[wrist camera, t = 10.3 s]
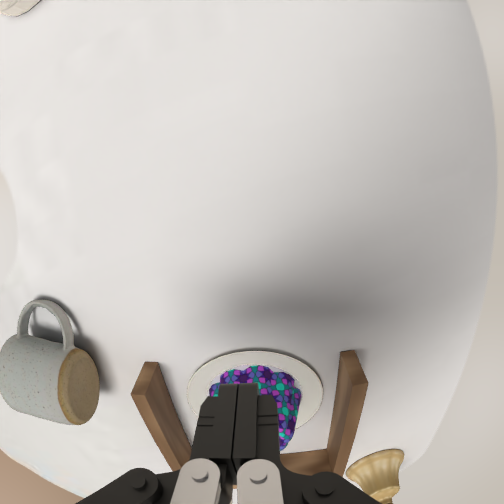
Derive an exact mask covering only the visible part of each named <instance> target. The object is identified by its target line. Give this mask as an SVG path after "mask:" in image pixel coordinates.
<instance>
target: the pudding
mask: <svg viewBox="0 0 504 504" xmlns="http://www.w3.org/2000/svg"><path fill="white" fill-rule="evenodd" d="M242 365H258V366H250V367H249V368H247V369H246V370H244V371H241V370H235V369H233V370H230V371H226V370H228V369H231V368H234V367H238V366H242ZM260 365H268V366H272V367H276V368H279V369H281V370H284V371H286V372H287V373H289V374H291V375H292V376H293V377H294V378H295V379H296V380H297V381H298V382H299V384H300V386H301V389H302V400H301V392H300V389H298V388H296V387H294V386H293V385H294V379H293V378H292V377H291V376H290V375H289V374H287V373H284V372H273V371H271V370H270V369H269V368H268V367H265V366H260ZM224 371H226V372H225V373H224V374H222V375H221V377H220V382H219V383H216V384H213V385H212V386H211V388H210V389H209V394H210V396H218V391H219V386H220V384H236V383H238V384H240V383H257V382H258V386H259V394H260V395H270V394H271V395H272V396H273V398H274V399H275V401H276V403H277V408H278V421H279V442H280V451H281V450H283V449H284V448H285V447H286V446H287V445H288V442H289V441H290V440H291V439H292V437H293V434H294V431H295V429H297V428H299V427H301V426H302V425H304V424H305V423H307V422H308V421H309V420H310V419H311V418H312V417H313V416H314V415H315V413H316V412H317V411H318V409H319V407H320V405H321V403H322V398H323V387H322V384H321V381H320V379H319V378H318V376H317V375H316V373H315V372H314V371H313V370H312V369H311V368H310V367H308V366H307V365H305V364H304V363H302V362H301V361H299V360H297V359H294V358H292V357H289V356H286V355H282V354H278V353H274V352H265V351H245V352H237V353H232V354H228V355H224V356H221V357H218V358H216V359H214V360H211V361H210V362H208V363H206V364H205V365H203V366H202V367H201V368H200V369H199V370H197V371H196V372H195V373H194V375H193V376H192V378H191V379H190V381H189V384H188V387H187V399H188V403H189V405H190V407H191V409H192V411H193V412H194V414H195V415H196V416H197V417H198V418H199V412H200V407H201V405H202V403H203V402H204V401H205V399H206V398H207V392H208V388H209V385H210V383H211V382H212V381H213V379H214V378H215V377H217V376H218V375H219V374H221V373H222V372H224ZM300 400H301V403H300Z"/></svg>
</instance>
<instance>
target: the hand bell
mask: <svg viewBox="0 0 504 504" xmlns="http://www.w3.org/2000/svg"><path fill="white" fill-rule="evenodd" d="M403 459H404V453H403V451H401V450H398V449H389V450H383V451H379V452H376V453H373V454H370V455H368V456H366V457H364V458H362V459H360V460H358V461H356V462H355V463H353V464H352V465H351V466H350V467H349V468H348V469H347V471H346V476H347V477H348V478H349V479H350V480H352V481H355V482H356V483H357V484H359V486H360V487H361V488H362V490H363V492H365V493H366V494H368V495H369V496H371V497H372V498H374V499H375V500H377V501H378V502H380V503H382V504H393V503H392V497H393V496H394V495H395V494H397V493H398V491H399V489H400V487H399V479H398V472H399V467H400V465H401V463H402V461H403Z"/></svg>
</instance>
